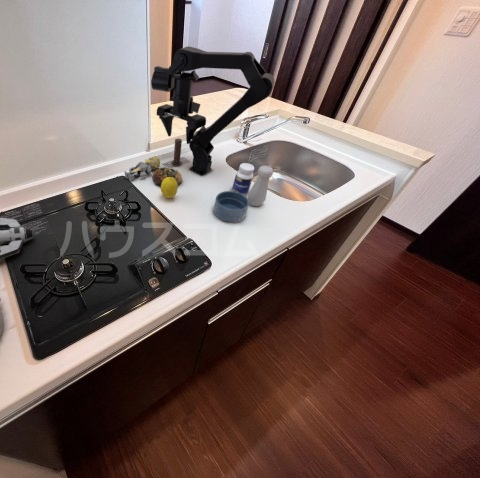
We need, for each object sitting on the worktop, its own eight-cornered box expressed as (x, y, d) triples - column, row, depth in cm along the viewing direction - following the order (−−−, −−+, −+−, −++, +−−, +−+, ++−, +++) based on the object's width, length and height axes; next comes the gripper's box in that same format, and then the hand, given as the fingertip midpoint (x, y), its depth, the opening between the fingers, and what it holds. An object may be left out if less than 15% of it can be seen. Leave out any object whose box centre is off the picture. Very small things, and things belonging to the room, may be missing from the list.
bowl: (207, 212, 82) (209, 199, 79) (224, 200, 88) (227, 187, 84) (233, 227, 78) (237, 214, 74) (250, 213, 83) (255, 200, 79)
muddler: (170, 164, 104) (171, 139, 97) (176, 161, 106) (178, 137, 99) (176, 167, 102) (178, 142, 95) (182, 164, 104) (185, 140, 97)
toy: (119, 167, 94) (149, 151, 101) (122, 179, 98) (151, 163, 104) (133, 173, 90) (164, 156, 96) (136, 186, 93) (165, 168, 100)
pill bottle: (229, 194, 90) (236, 168, 83) (233, 186, 94) (239, 160, 87) (246, 198, 89) (254, 172, 82) (248, 189, 93) (257, 164, 86)
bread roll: (149, 185, 92) (150, 172, 88) (154, 173, 100) (156, 161, 97) (180, 190, 91) (182, 177, 88) (183, 178, 100) (185, 165, 97)
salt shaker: (263, 209, 85) (277, 174, 75) (246, 206, 85) (257, 171, 76) (262, 199, 89) (275, 164, 80) (245, 196, 89) (256, 162, 80)
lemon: (179, 195, 88) (181, 175, 83) (172, 204, 85) (174, 183, 79) (164, 191, 90) (165, 171, 84) (157, 200, 86) (158, 179, 81)
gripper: (219, 95, 86) (211, 141, 97) (177, 84, 95) (174, 127, 106) (198, 102, 80) (192, 150, 91) (155, 89, 89) (155, 134, 100)
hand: (178, 139), depth 97 cm, fingers open, 9 cm apart
